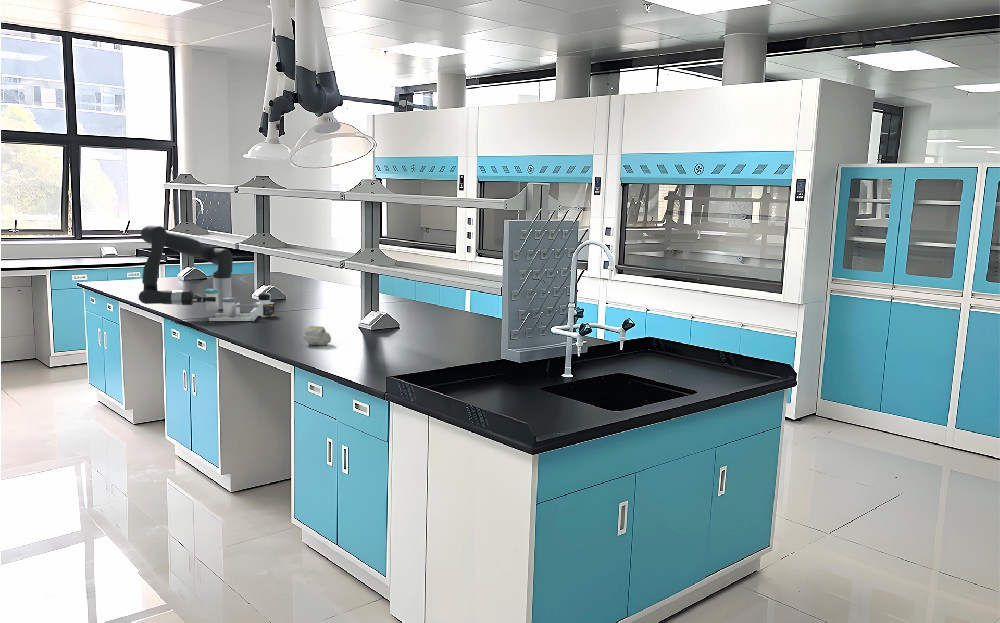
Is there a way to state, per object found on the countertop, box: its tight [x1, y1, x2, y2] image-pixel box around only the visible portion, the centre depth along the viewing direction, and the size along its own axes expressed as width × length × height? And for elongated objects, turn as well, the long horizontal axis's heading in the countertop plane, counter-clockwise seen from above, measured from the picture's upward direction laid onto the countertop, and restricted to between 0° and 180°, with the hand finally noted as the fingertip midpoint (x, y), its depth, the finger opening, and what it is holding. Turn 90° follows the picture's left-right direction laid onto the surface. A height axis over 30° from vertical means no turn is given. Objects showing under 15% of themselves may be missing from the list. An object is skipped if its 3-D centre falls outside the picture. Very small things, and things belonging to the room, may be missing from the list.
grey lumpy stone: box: [302, 325, 332, 347], centre depth 336 cm, size 12×8×10 cm
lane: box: [208, 307, 258, 322], centre depth 391 cm, size 16×21×5 cm
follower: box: [234, 302, 258, 317], centre depth 391 cm, size 10×11×8 cm
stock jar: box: [222, 296, 236, 317], centre depth 390 cm, size 6×6×11 cm
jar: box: [204, 288, 219, 313], centre depth 387 cm, size 6×6×11 cm
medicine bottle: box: [254, 292, 275, 318], centre depth 403 cm, size 7×7×12 cm
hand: (216, 298), depth 388 cm, fingers closed on jar, 6 cm apart
